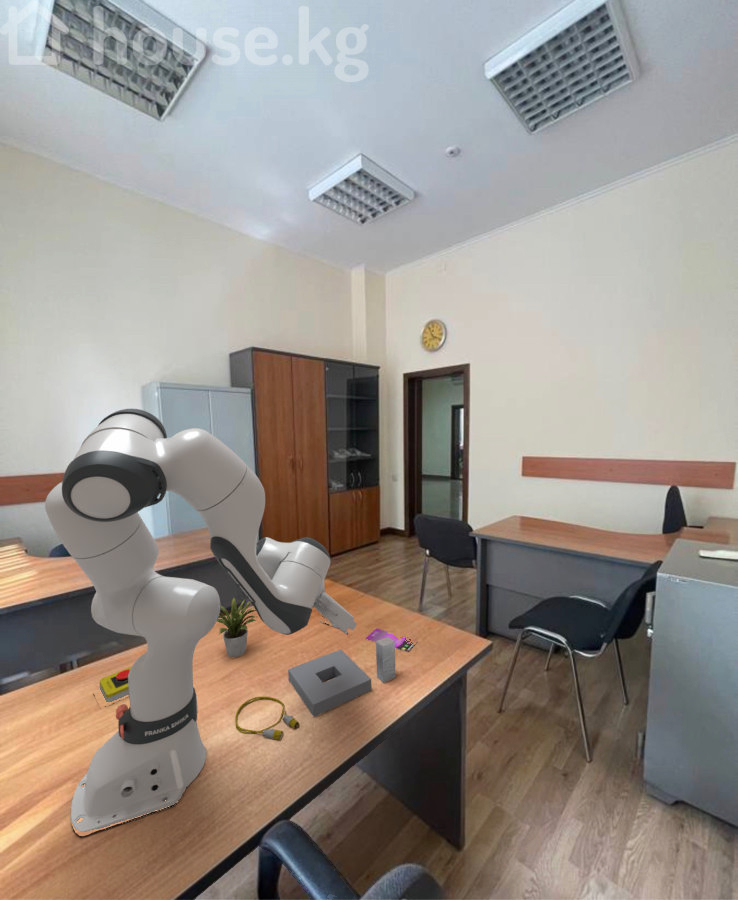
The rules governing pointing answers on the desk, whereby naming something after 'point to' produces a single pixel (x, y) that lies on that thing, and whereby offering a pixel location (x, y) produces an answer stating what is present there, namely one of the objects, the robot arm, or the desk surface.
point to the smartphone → (399, 644)
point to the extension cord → (270, 732)
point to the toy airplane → (337, 627)
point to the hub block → (328, 682)
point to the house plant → (235, 628)
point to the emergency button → (115, 685)
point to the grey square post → (385, 659)
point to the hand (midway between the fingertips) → (344, 617)
